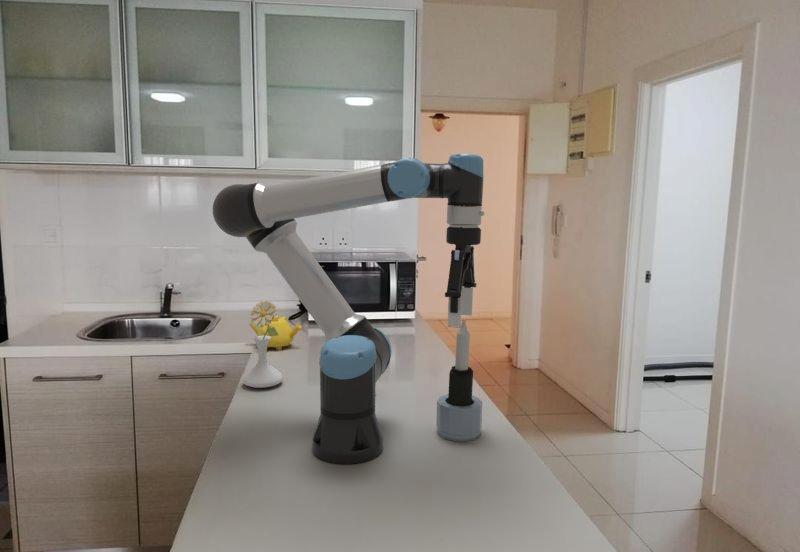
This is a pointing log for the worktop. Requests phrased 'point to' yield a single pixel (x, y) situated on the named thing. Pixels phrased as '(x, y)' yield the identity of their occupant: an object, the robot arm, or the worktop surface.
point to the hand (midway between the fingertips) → (460, 320)
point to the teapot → (282, 329)
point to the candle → (461, 371)
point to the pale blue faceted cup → (459, 420)
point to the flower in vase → (263, 348)
